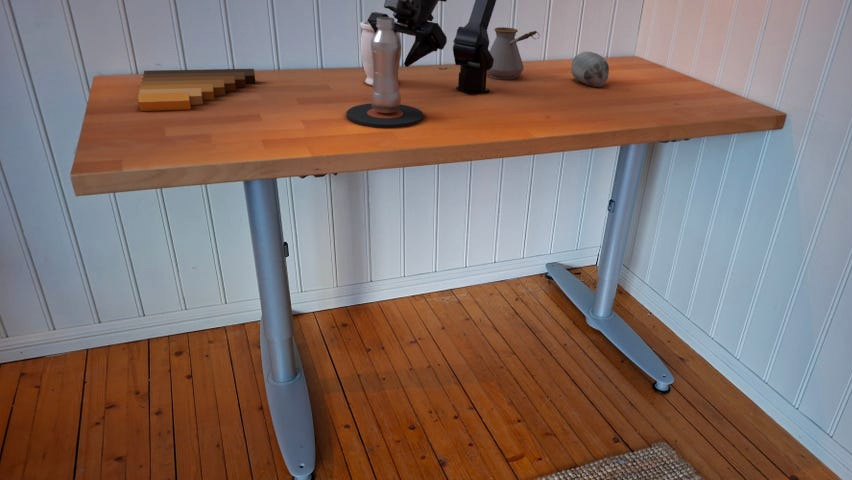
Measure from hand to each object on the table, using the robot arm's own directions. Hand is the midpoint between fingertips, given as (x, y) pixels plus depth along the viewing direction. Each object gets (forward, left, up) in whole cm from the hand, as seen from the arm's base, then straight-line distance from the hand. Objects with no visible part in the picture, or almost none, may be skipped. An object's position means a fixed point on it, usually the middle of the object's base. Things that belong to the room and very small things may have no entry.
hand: (389, 62), depth 147 cm
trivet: (+1, 0, -12) cm, 12 cm away
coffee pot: (-48, -16, -12) cm, 52 cm away
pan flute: (+31, -33, -12) cm, 47 cm away
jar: (-13, -27, -12) cm, 32 cm away
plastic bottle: (+1, 0, -11) cm, 11 cm away
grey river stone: (-67, -5, -12) cm, 68 cm away
